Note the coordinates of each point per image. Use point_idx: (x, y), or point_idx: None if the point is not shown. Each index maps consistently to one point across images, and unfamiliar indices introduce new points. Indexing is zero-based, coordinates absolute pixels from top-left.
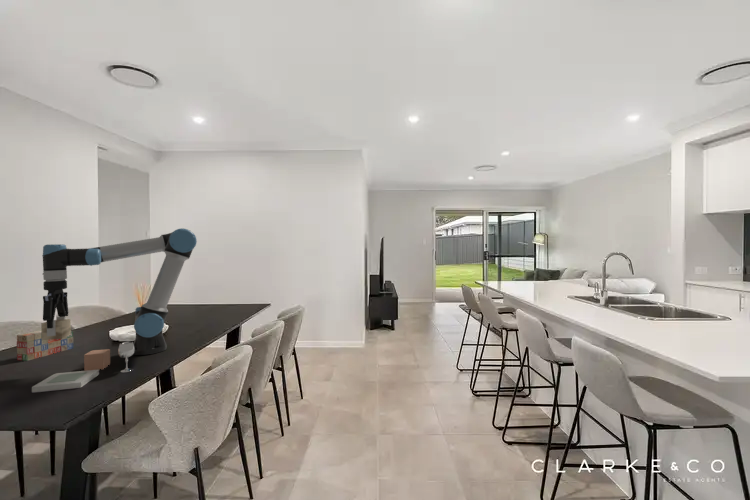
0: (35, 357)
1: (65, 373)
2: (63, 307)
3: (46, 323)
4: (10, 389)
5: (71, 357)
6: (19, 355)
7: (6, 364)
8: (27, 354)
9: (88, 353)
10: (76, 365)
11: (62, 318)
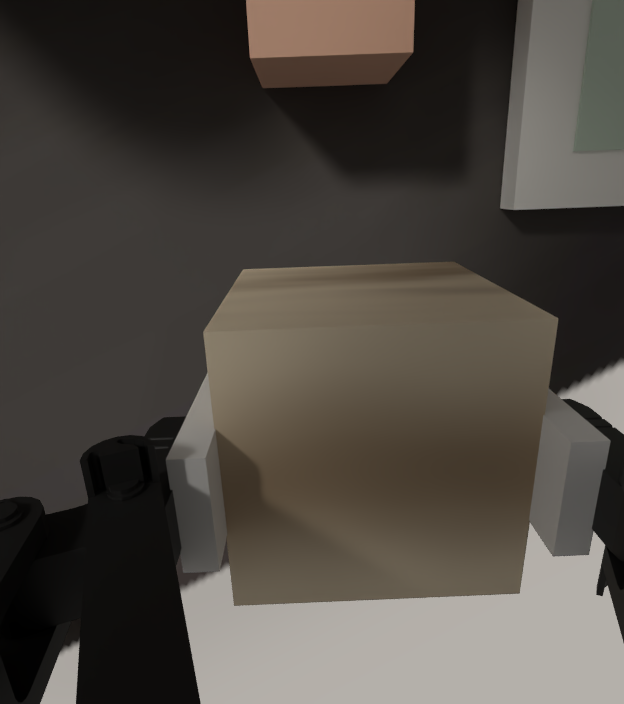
0: None
1: (545, 131)
2: (154, 676)
3: (525, 530)
4: (614, 352)
5: (5, 361)
6: None
7: None
8: None
9: (368, 32)
10: (222, 219)
11: (213, 471)
